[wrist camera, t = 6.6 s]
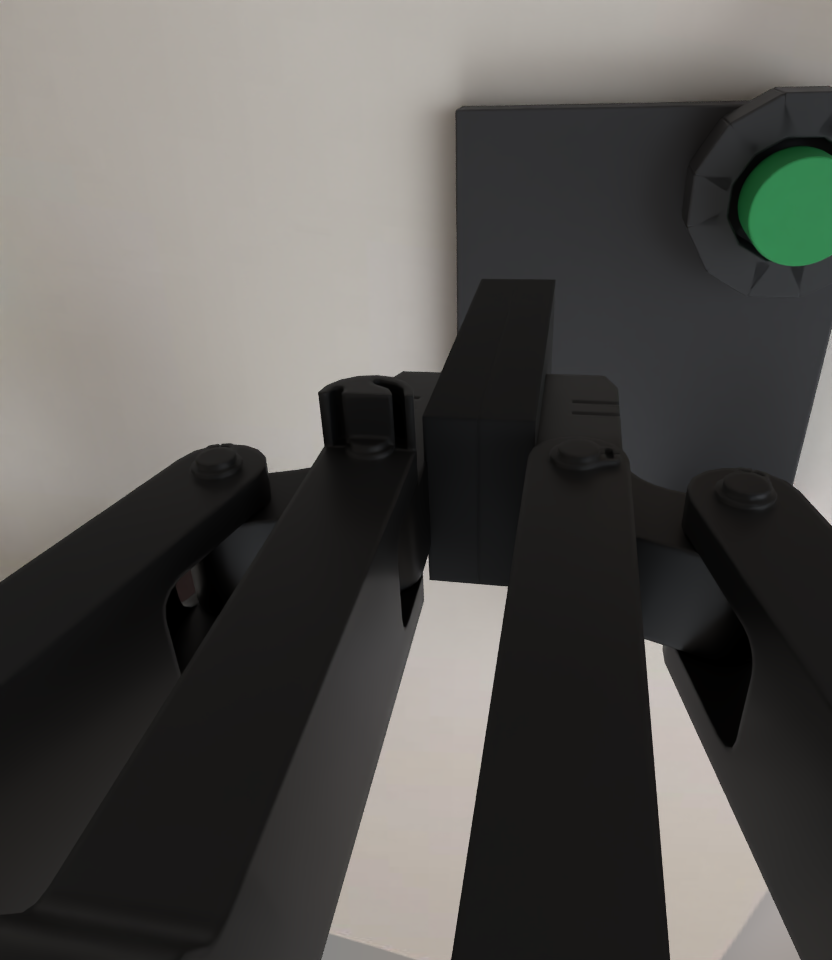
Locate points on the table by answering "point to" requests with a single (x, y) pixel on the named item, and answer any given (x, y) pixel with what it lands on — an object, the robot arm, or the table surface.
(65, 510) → the table surface
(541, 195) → the scale
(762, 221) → the button
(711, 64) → the table surface
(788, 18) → the table surface
